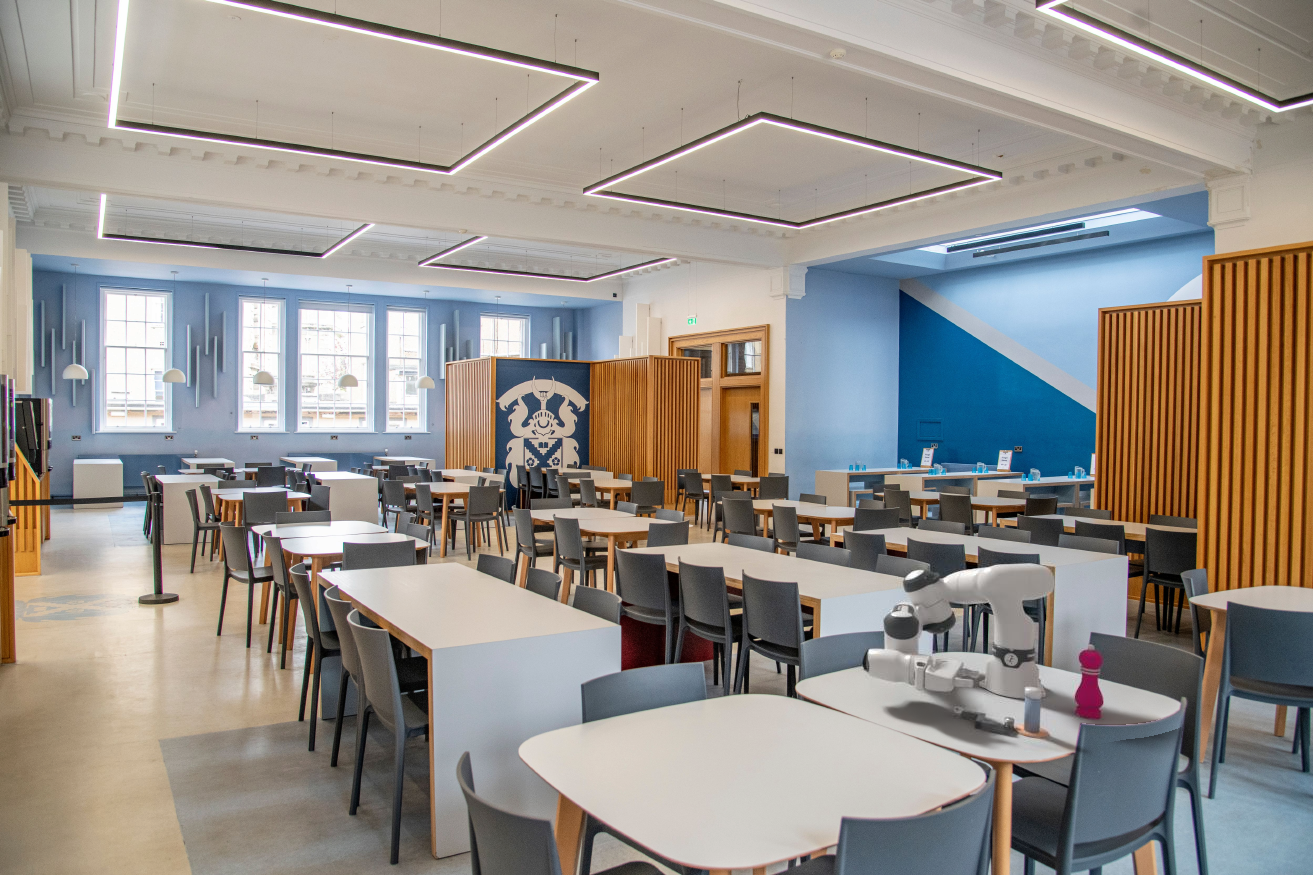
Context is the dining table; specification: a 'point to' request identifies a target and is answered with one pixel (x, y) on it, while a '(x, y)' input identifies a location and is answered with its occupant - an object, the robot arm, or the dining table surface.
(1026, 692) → the shaker
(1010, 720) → the rail
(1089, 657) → the pepper mill
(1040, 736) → the coaster
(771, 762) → the dining table surface
